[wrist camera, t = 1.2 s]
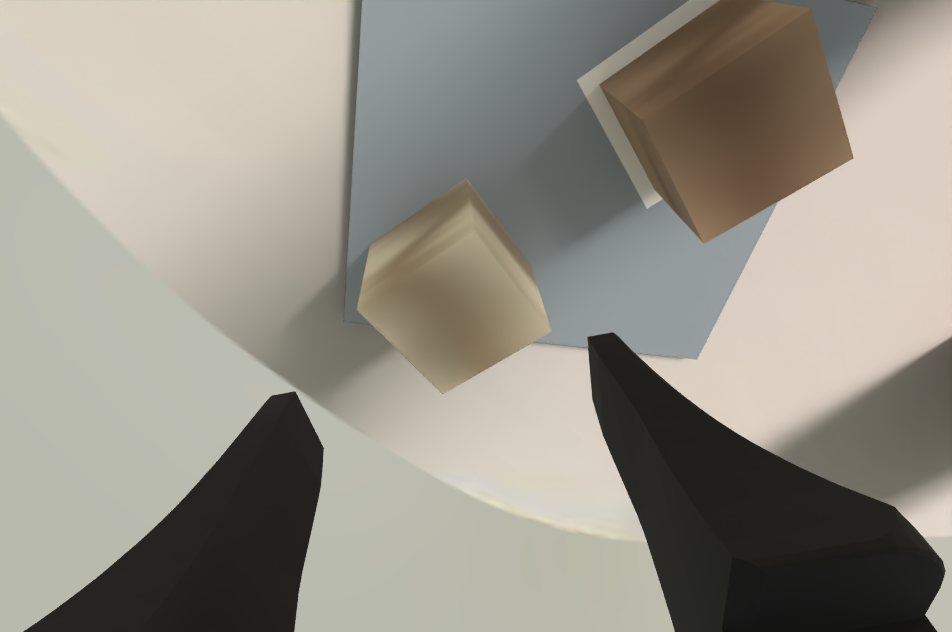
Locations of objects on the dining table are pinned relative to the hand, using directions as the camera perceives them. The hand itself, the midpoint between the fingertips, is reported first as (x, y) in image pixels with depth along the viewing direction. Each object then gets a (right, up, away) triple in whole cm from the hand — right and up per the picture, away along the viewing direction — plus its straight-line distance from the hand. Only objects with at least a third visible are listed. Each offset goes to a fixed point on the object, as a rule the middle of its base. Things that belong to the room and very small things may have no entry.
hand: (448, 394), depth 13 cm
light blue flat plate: (+4, +7, +7) cm, 11 cm away
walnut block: (+8, +9, +5) cm, 13 cm away
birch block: (0, +4, +8) cm, 9 cm away
